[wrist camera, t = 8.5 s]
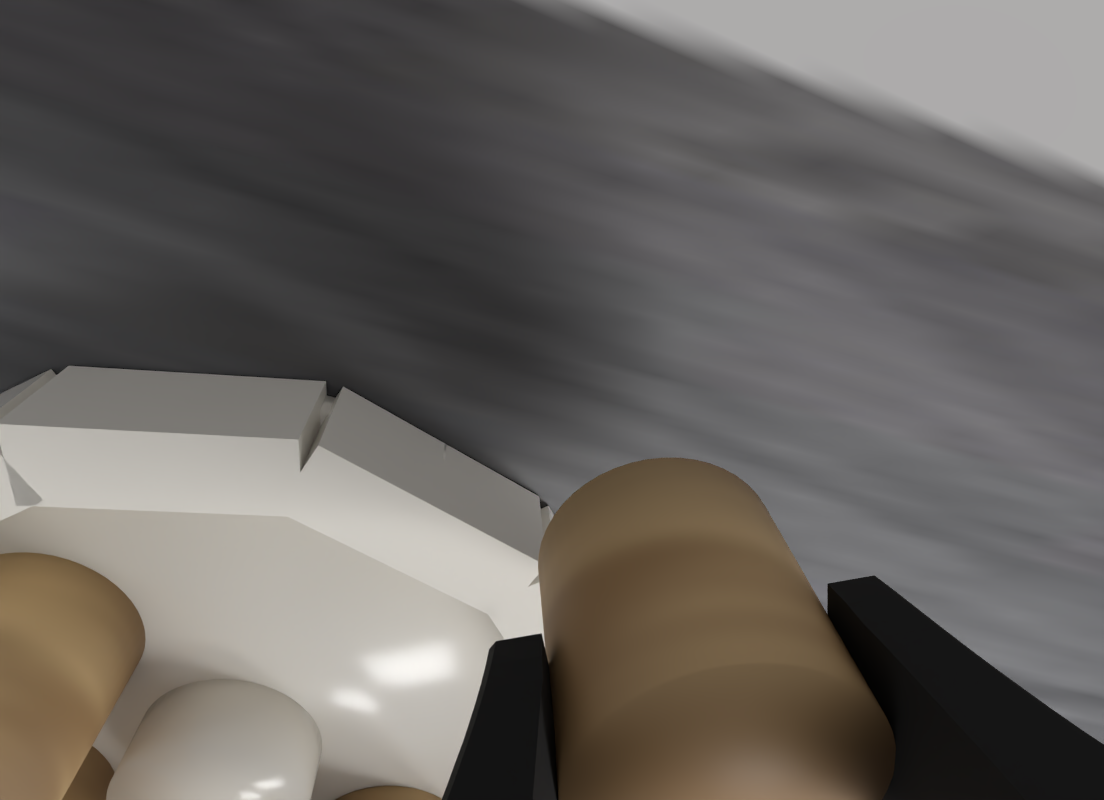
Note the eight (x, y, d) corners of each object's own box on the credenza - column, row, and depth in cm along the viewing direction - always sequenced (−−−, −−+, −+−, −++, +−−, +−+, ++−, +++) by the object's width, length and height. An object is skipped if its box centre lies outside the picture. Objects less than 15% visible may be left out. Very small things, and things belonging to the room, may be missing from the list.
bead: (743, 652, 13) (840, 889, 9) (526, 645, 12) (541, 892, 9) (800, 465, 11) (944, 668, 8) (552, 450, 11) (583, 657, 7)
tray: (574, 934, 22) (582, 1021, 20) (-72, 947, 20) (-132, 1044, 18) (679, 403, 14) (709, 460, 13) (-356, 340, 13) (-512, 397, 11)
